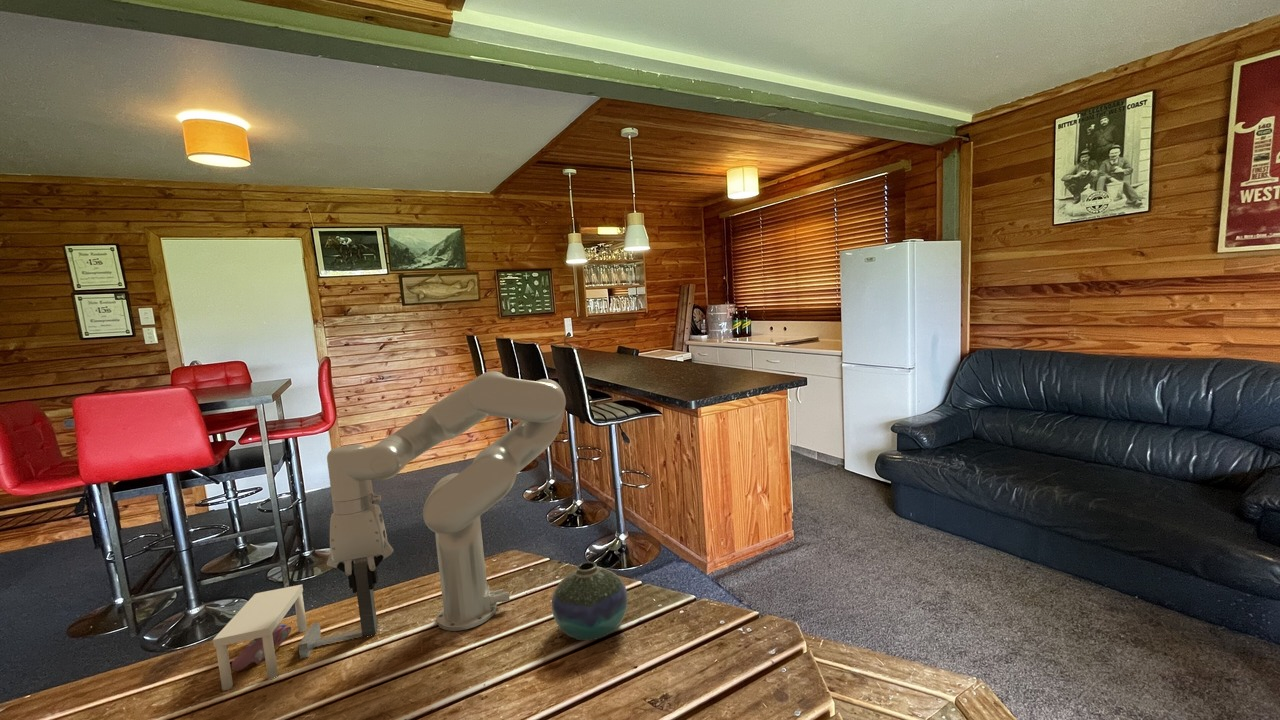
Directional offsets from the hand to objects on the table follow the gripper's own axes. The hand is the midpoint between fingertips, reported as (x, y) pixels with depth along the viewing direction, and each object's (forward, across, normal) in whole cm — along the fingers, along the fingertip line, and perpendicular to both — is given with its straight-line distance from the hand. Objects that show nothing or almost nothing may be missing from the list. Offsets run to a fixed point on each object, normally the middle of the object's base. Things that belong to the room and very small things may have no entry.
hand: (364, 587), depth 110 cm
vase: (+10, -45, +18) cm, 50 cm away
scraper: (+10, +5, 0) cm, 12 cm away
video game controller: (+10, +20, 0) cm, 22 cm away
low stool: (+10, +19, 0) cm, 22 cm away
